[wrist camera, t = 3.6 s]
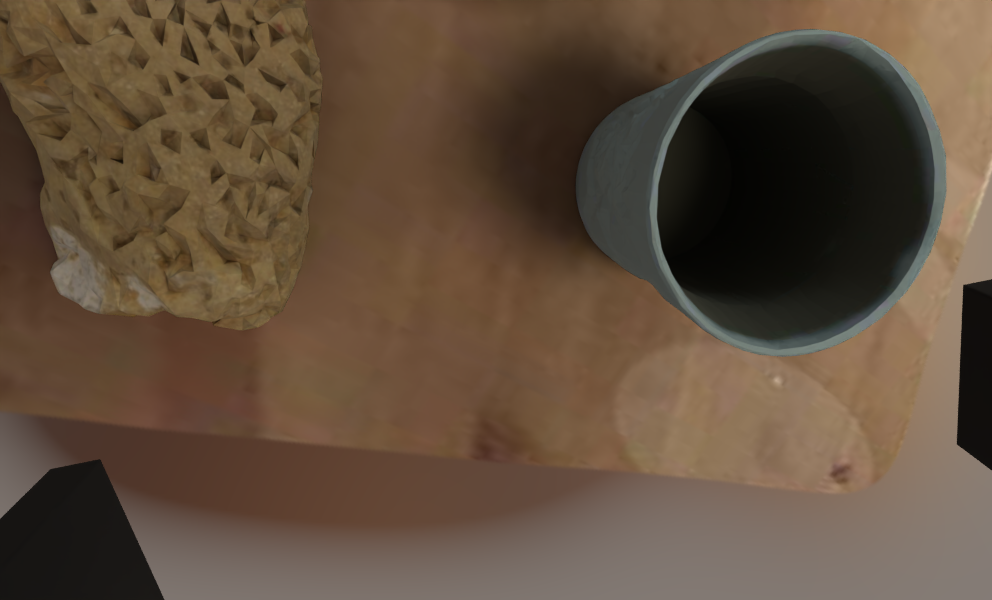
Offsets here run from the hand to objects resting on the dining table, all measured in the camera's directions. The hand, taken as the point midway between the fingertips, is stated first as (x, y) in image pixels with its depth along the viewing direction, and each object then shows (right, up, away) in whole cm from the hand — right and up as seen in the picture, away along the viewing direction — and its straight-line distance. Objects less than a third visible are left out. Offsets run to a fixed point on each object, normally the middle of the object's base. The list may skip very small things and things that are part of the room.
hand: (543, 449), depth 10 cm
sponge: (-14, +12, +18) cm, 26 cm away
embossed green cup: (+7, +8, +22) cm, 25 cm away
